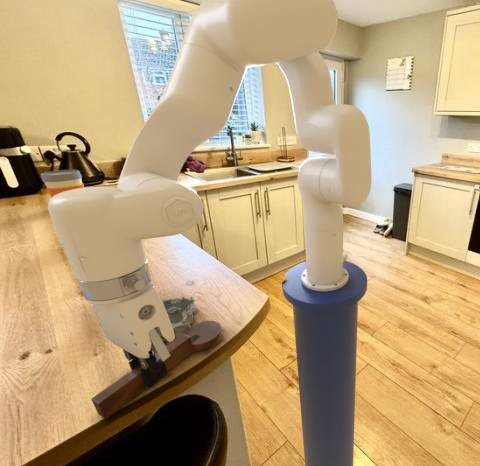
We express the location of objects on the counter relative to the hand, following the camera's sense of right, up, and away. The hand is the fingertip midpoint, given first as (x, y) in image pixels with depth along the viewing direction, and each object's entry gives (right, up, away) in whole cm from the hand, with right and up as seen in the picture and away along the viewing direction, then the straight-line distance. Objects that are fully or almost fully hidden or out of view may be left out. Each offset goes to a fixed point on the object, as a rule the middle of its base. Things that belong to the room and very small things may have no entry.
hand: (151, 376), depth 46 cm
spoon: (+1, +1, +3) cm, 3 cm away
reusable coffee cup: (-92, +35, +83) cm, 129 cm away
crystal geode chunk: (-4, +4, +12) cm, 14 cm away
